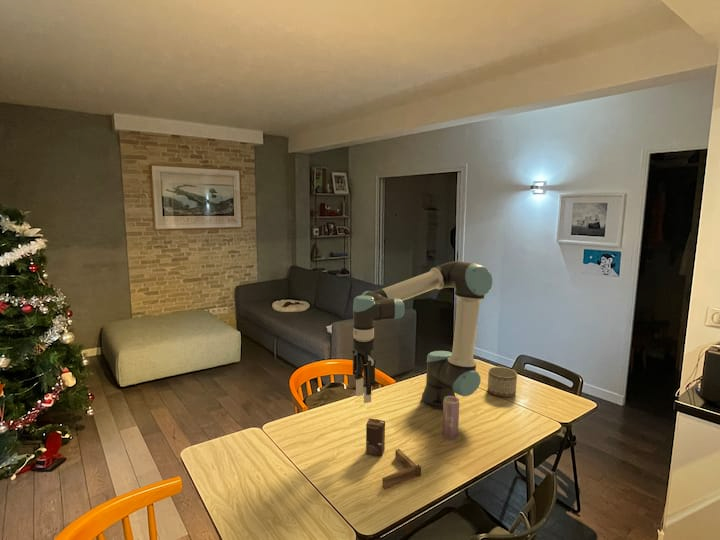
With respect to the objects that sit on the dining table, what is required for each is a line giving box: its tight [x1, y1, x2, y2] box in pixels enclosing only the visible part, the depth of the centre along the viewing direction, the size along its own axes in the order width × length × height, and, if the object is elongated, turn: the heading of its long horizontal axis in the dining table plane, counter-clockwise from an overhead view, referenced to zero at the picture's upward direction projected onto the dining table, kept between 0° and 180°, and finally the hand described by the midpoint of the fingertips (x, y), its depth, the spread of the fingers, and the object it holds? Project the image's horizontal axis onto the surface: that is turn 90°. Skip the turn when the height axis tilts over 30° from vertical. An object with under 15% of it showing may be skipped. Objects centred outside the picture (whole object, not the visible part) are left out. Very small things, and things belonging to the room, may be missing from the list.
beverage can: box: [441, 396, 460, 440], centre depth 155 cm, size 6×6×15 cm
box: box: [365, 418, 386, 458], centre depth 144 cm, size 6×4×12 cm
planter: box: [487, 366, 518, 398], centre depth 192 cm, size 13×13×10 cm
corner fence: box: [381, 448, 422, 490], centre depth 135 cm, size 12×14×3 cm
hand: (363, 398), depth 151 cm, fingers open, 5 cm apart
